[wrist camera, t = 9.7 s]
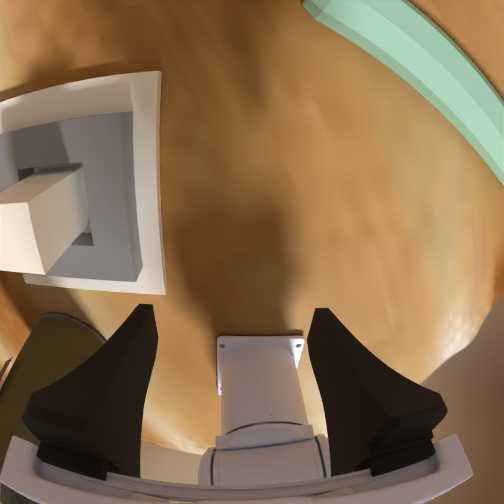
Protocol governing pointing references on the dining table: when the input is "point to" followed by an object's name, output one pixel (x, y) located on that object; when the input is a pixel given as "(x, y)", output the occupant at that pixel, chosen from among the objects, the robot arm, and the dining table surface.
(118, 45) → the dining table surface
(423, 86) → the container
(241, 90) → the dining table surface
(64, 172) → the block
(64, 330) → the canister
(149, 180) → the plate
